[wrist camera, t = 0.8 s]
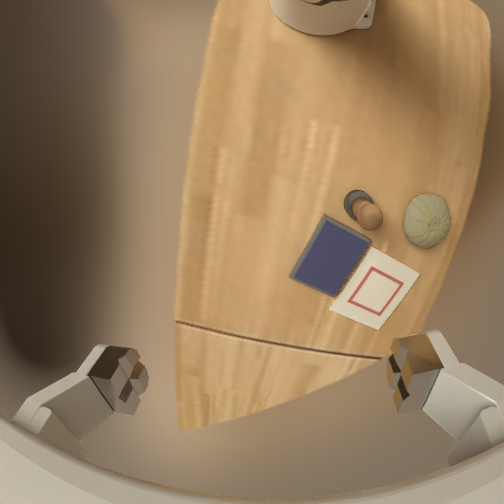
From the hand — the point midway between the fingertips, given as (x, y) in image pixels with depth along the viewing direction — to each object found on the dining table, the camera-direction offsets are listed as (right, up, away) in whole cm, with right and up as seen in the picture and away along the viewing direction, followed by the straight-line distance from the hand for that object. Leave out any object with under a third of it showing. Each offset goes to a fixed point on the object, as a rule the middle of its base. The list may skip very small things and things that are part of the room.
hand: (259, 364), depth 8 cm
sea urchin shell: (+29, +9, +34) cm, 45 cm away
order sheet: (+22, -4, +40) cm, 46 cm away
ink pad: (+13, +3, +38) cm, 40 cm away
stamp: (+16, +11, +34) cm, 39 cm away
